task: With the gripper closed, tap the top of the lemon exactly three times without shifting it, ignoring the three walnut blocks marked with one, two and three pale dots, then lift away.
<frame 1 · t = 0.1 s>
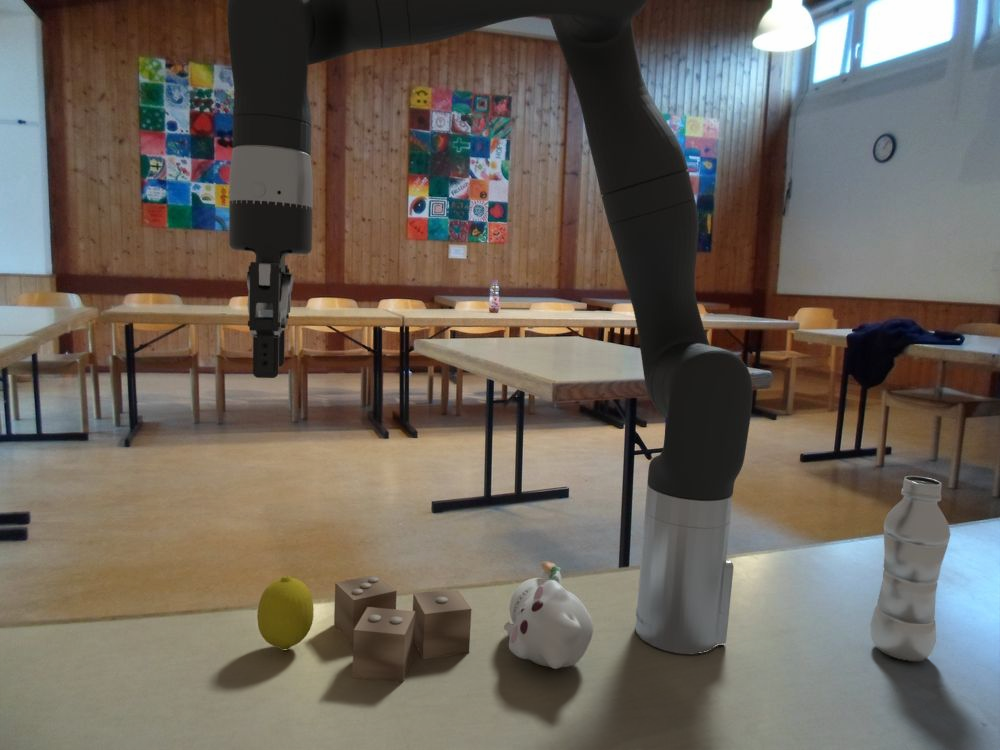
hand: (269, 371, 70), 29 cm above the table, tool pointing down, fingers open, 8 cm apart
block one dot: (439, 645, 78), on the table
block three dots: (364, 629, 80), on the table
lemon: (285, 651, 75), on the table
cat figurine: (545, 656, 77), on the table
block two dots: (383, 667, 73), on the table
plastic bottle: (899, 655, 81), on the table
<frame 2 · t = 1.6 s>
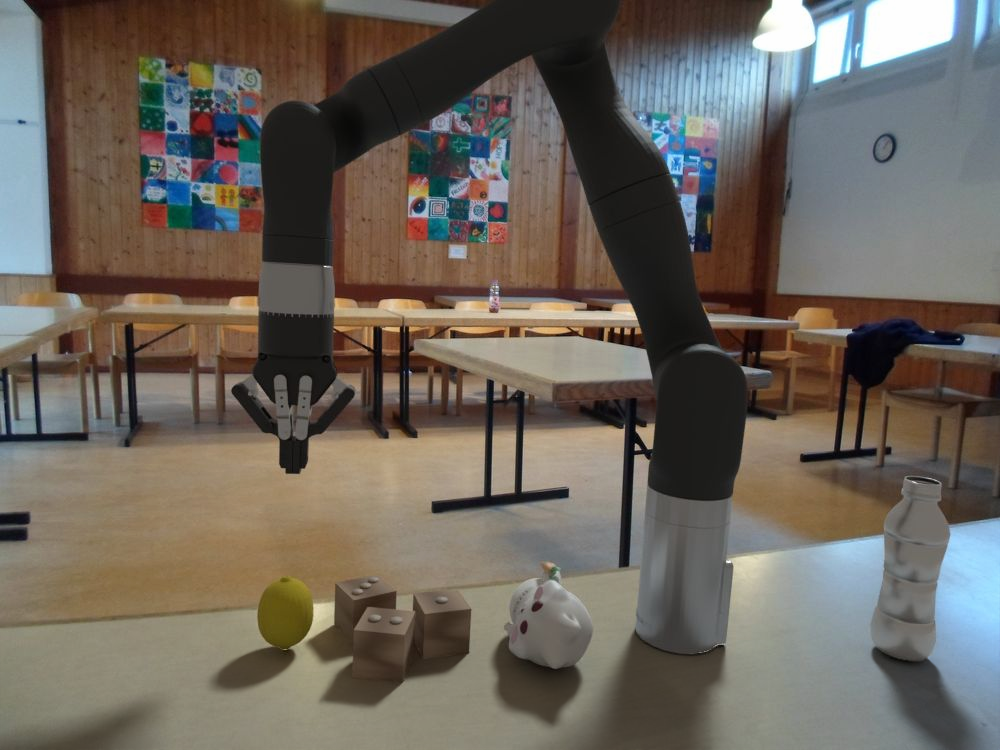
hand: (293, 472, 77), 18 cm above the table, tool pointing down, fingers closed
nothing on the table moved.
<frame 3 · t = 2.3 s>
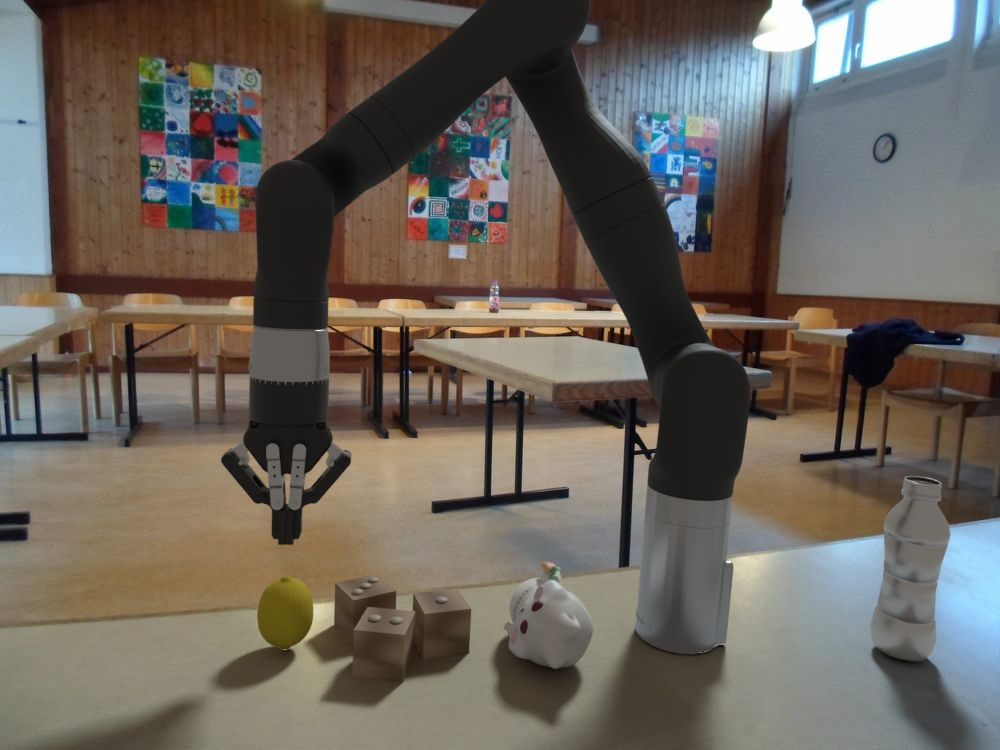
hand: (286, 542, 73), 12 cm above the table, tool pointing down, fingers closed
nothing on the table moved.
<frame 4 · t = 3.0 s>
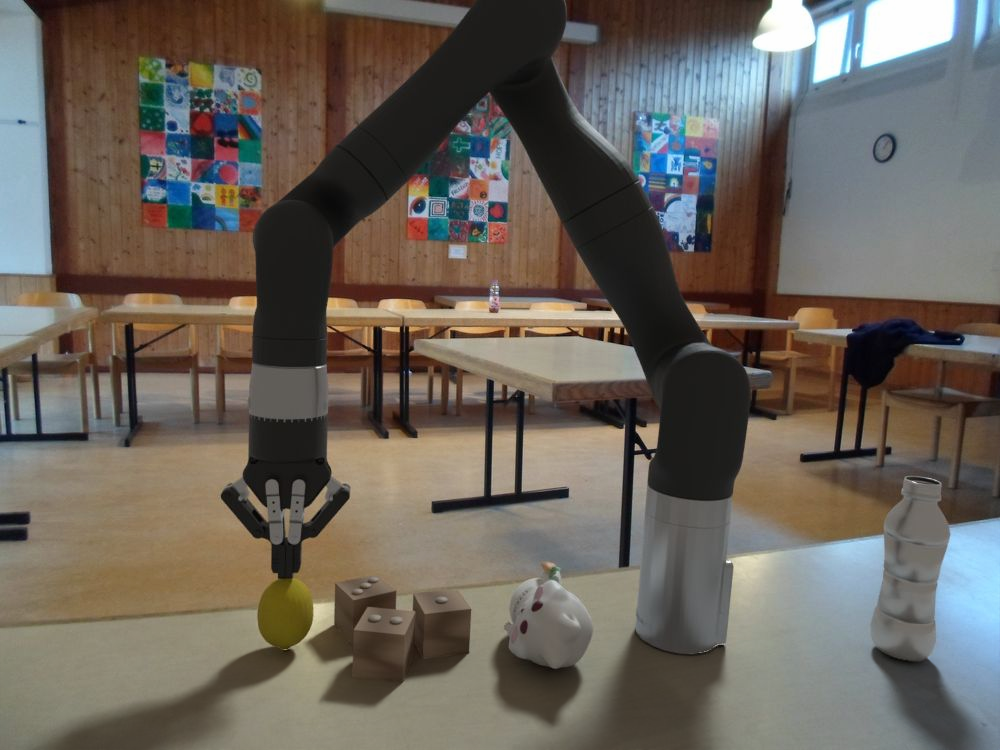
hand: (285, 575, 74), 8 cm above the table, tool pointing down, fingers closed
lemon: (285, 651, 75), on the table, touching gripper
everything else where it was.
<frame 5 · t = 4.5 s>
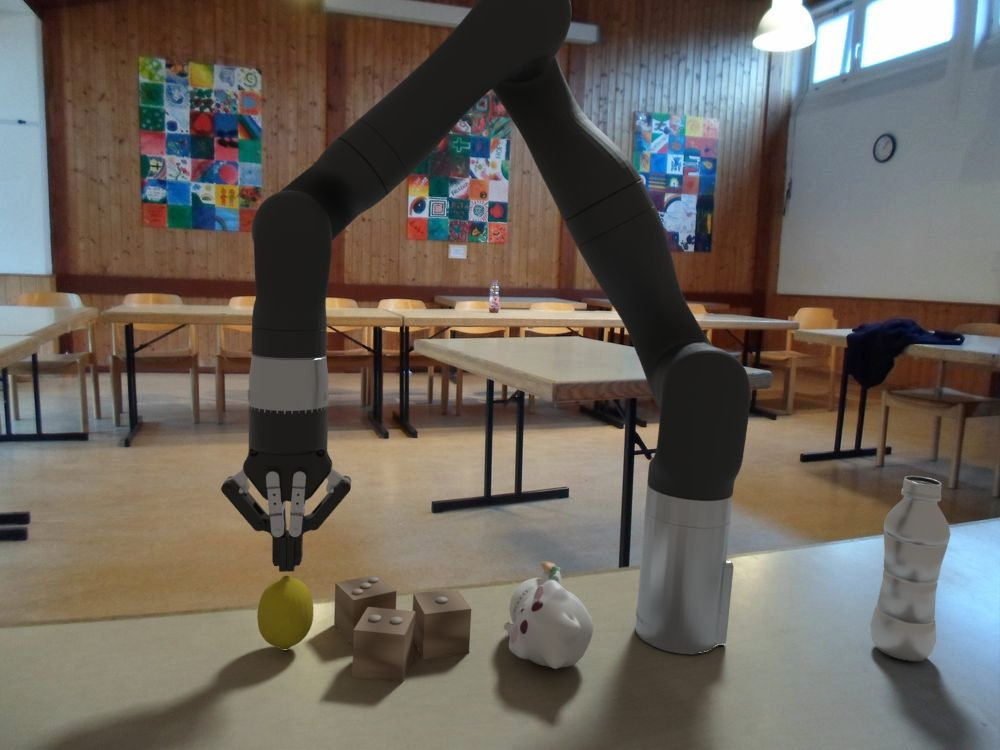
hand: (287, 568, 73), 9 cm above the table, tool pointing down, fingers closed
lemon: (285, 651, 75), on the table
everything else where it was.
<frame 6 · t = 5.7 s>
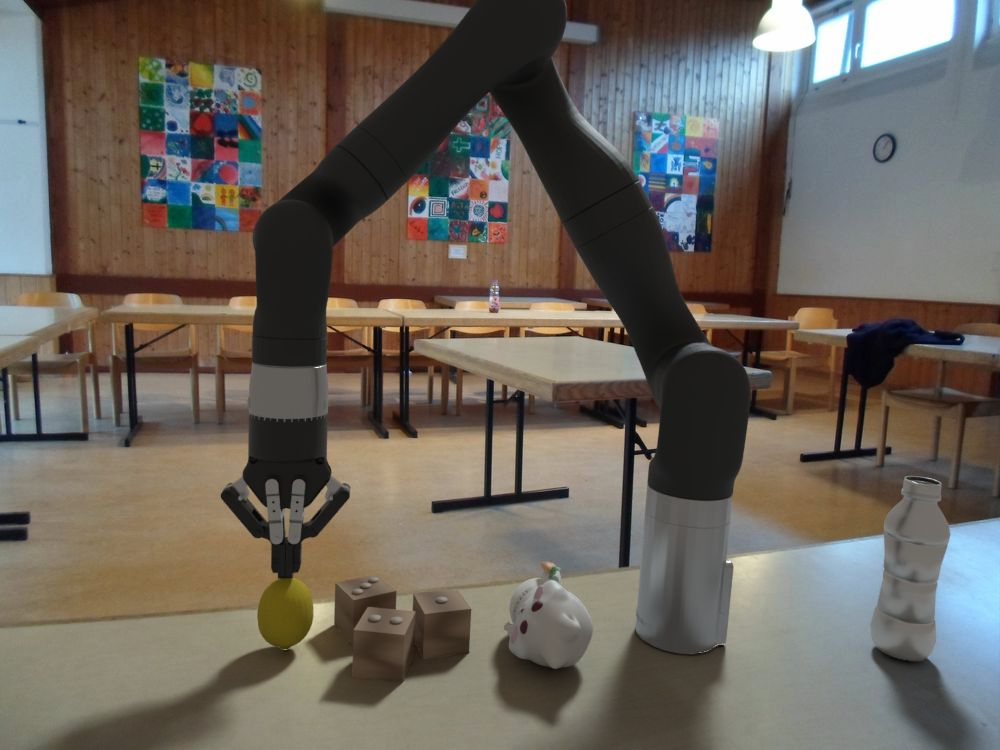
hand: (285, 575, 74), 8 cm above the table, tool pointing down, fingers closed
nothing on the table moved.
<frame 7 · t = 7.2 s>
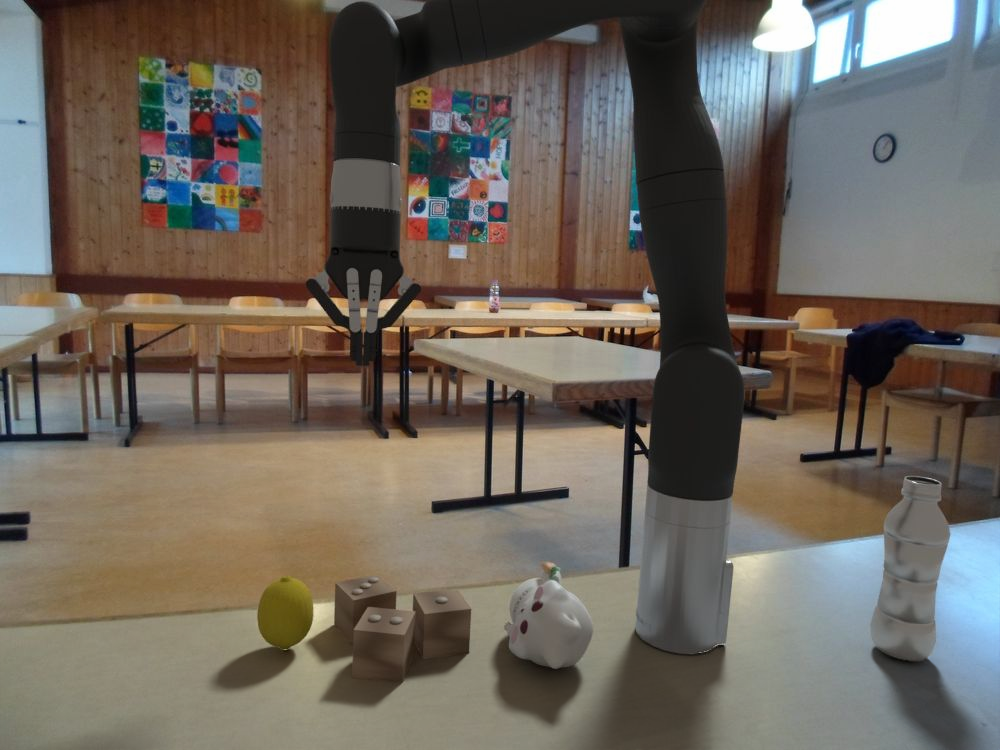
hand: (362, 365, 81), 29 cm above the table, tool pointing down, fingers closed
nothing on the table moved.
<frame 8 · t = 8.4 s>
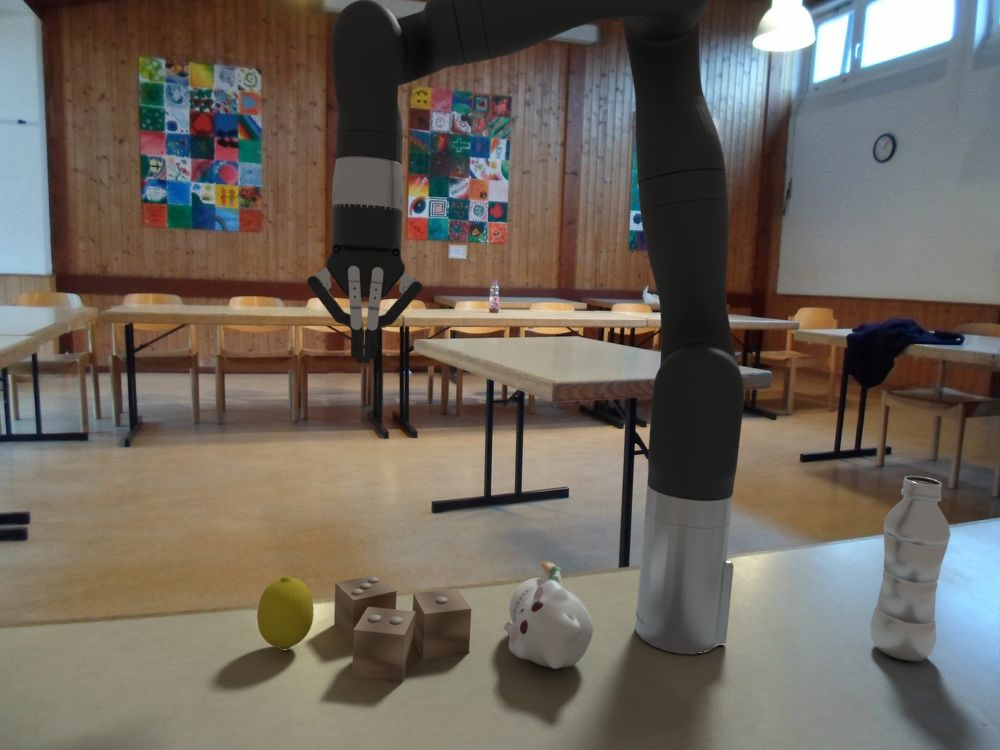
hand: (363, 362, 81), 29 cm above the table, tool pointing down, fingers closed
nothing on the table moved.
at the end: lemon moved 0.2 cm from its start; lemon touching table; the gripper is holding nothing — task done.
